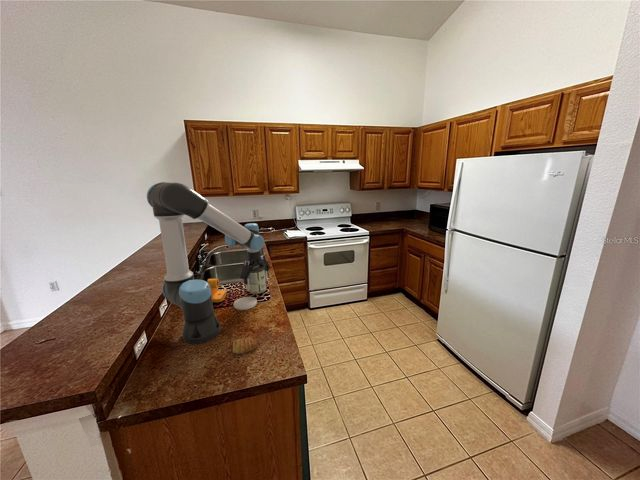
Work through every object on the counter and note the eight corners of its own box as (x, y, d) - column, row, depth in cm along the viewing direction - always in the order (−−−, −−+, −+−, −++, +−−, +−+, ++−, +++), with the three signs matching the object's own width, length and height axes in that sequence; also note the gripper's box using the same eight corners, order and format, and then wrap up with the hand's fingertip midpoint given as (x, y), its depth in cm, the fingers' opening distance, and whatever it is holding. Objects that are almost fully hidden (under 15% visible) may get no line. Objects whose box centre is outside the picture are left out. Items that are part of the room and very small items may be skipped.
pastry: (257, 341, 108) (256, 333, 107) (257, 351, 102) (256, 343, 101) (233, 345, 106) (232, 337, 105) (232, 356, 100) (231, 348, 99)
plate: (243, 312, 129) (243, 310, 129) (229, 305, 136) (228, 303, 136) (261, 302, 139) (261, 300, 138) (247, 296, 146) (247, 294, 145)
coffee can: (252, 285, 159) (250, 264, 155) (268, 286, 158) (266, 264, 154) (246, 293, 149) (243, 270, 145) (263, 294, 148) (261, 271, 144)
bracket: (221, 303, 139) (218, 283, 136) (207, 303, 139) (204, 283, 136) (227, 294, 149) (224, 274, 146) (214, 294, 149) (211, 275, 146)
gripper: (239, 257, 135) (243, 294, 141) (274, 246, 154) (277, 278, 160) (231, 255, 140) (235, 291, 145) (266, 244, 159) (268, 276, 165)
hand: (257, 284), depth 153 cm, fingers open, 13 cm apart
